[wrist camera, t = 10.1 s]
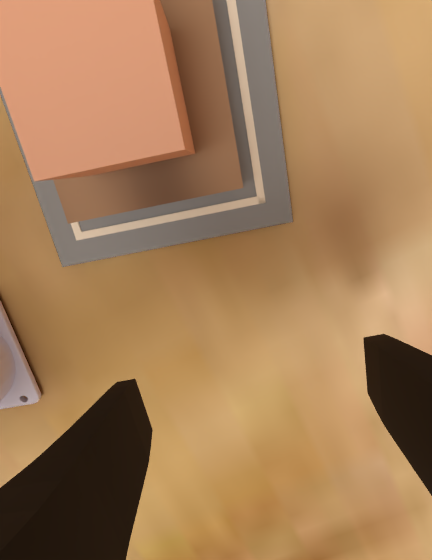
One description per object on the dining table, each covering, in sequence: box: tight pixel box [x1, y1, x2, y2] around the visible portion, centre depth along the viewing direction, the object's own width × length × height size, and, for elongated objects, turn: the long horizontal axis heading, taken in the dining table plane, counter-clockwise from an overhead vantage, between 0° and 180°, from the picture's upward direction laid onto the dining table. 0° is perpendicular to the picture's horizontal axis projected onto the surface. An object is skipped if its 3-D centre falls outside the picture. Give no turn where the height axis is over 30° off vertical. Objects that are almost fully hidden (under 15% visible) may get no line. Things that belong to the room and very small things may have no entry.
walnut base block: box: [53, 0, 243, 224], centre depth 15 cm, size 8×8×3 cm
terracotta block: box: [0, 0, 195, 181], centre depth 11 cm, size 4×4×5 cm
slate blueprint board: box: [0, 0, 293, 267], centre depth 17 cm, size 13×13×1 cm
